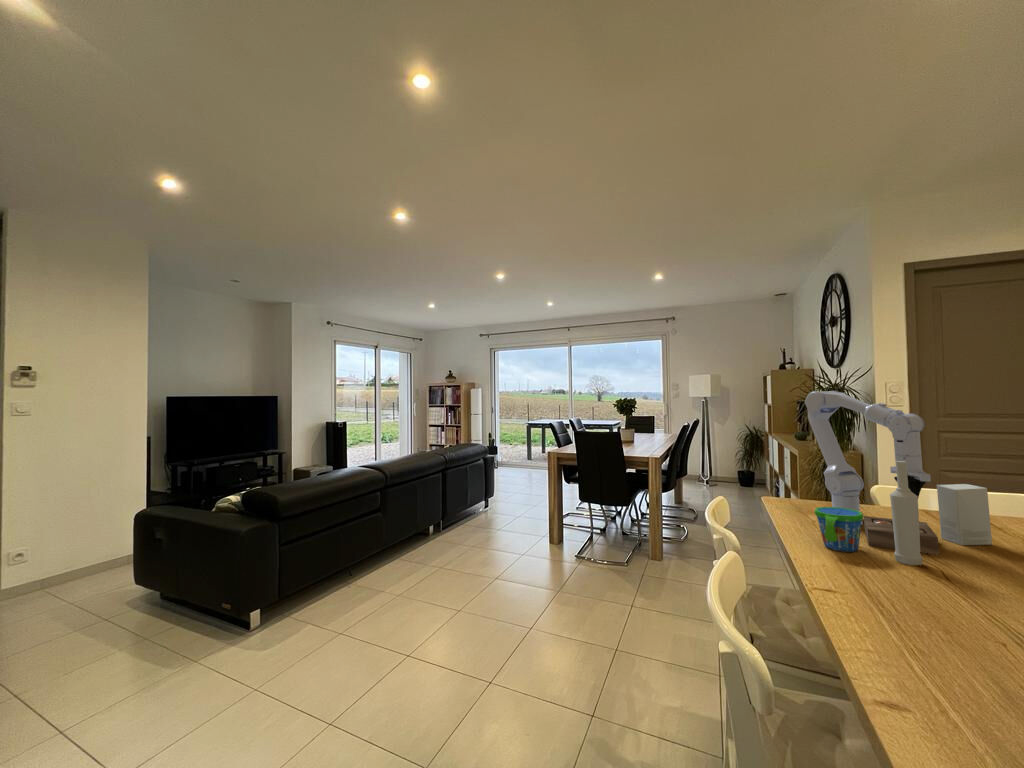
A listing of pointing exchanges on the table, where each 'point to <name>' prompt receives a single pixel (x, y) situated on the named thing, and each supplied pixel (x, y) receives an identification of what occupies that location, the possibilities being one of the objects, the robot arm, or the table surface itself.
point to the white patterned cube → (882, 522)
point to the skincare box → (964, 514)
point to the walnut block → (885, 535)
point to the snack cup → (840, 527)
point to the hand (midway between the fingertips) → (911, 502)
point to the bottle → (905, 520)
